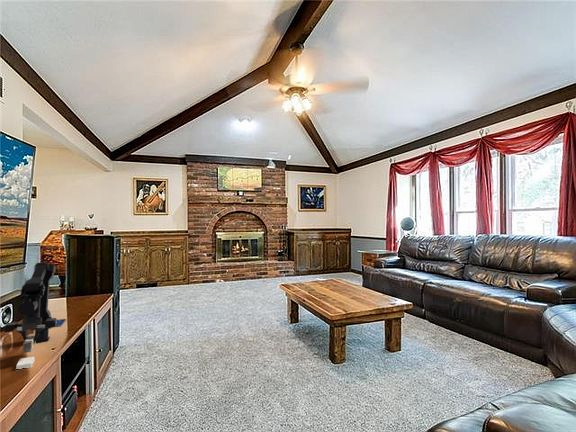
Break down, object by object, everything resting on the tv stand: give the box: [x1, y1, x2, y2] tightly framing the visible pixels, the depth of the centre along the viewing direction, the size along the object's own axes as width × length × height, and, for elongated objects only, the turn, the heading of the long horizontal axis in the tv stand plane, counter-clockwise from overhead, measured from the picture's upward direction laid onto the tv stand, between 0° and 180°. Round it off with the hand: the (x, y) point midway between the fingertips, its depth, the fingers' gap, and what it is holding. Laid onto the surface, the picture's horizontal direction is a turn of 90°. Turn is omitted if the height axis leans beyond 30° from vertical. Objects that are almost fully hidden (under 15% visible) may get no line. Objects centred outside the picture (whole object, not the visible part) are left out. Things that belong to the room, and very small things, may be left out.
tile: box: [15, 356, 35, 370], centre depth 139 cm, size 2×5×8 cm
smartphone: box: [54, 318, 67, 328], centre depth 196 cm, size 7×1×15 cm
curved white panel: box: [22, 333, 36, 354], centre depth 146 cm, size 14×3×4 cm, turn 31°
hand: (30, 343), depth 148 cm, fingers closed on curved white panel, 3 cm apart
